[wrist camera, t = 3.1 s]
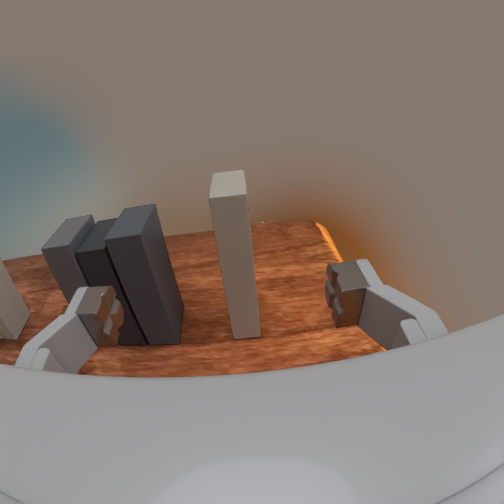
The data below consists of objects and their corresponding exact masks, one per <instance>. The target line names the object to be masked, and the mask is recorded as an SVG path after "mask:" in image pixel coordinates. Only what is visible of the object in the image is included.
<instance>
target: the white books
mask: <svg viewBox="0 0 504 504" xmlns="http://www.w3.org/2000/svg"><path fill="white" fill-rule="evenodd" d="M67 308H68V306H65V307H64V309H63V311H62V313H61V315H64V314H65V312H66V310H67ZM30 315H31V312H30V310H29V309H28V307H27V305H26V304H25V302H24V300H23V299H22V297H21V295H20V294H19V292H18V290H17V288H16V287H15V285H14V283H13V281H12V279H11V278H10V276H9V274H8V272H7V270H6V268H5V266H4V264H3V262H2V260H1V258H0V339H4V337H5V338H6V339H11V340H17V339H18V337H19V335H20V333H21V331H22V329H23V327H24V325H25V324H26V322H27V320H28V318H29V316H30Z"/></svg>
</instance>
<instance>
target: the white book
mask: <svg viewBox="0 0 504 504" xmlns="http://www.w3.org/2000/svg"><path fill="white" fill-rule="evenodd" d="M209 203H210V209H211V215H212V222H213V228H214V234H215V239H216V245H217V251H218V257H219V262H220V268H221V274H222V279H223V285H224V290H225V295H226V301H227V306H228V311H229V316H230V321H231V327H232V332H233V337H234V339H243V338H254V337H261V332H260V321H259V311H258V301H257V290H256V280H255V270H254V259H253V249H252V238H251V228H250V218H249V208H248V197H247V189H246V181H245V173H244V170H239V171H230V172H221V173H213V176H212V182H211V188H210V194H209Z"/></svg>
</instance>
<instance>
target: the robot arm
mask: <svg viewBox="0 0 504 504" xmlns="http://www.w3.org/2000/svg"><path fill="white" fill-rule="evenodd" d="M326 273H327V276H328V278H329V279H328V280H327V281H326V283H325V296H326V301H327V304H328V307H330V308H331V309H332V318H333V321H334V323H335V326H336V328H342V327H349V326H356V325H358V327H359V328H361V329H362V330H363V331H364V332H365V333H367V334H368V335H369V336H370V337H371V338H373V339H374V340H375V341H376V342H377V343H379V344H380V345H381V346H382V347H383V348H385V349H386V350H387V351H383V352H378V353H374V354H369V355H365V356H360V357H355V358H350V359H345V360H339V361H334V362H328V363H322V364H316V365H310V366H303V367H297V368H289V369H282V370H273V371H265V372H255V373H245V374H233V375H218V376H200V377H161V378H148V377H111V376H94V375H81V374H76V373H77V372H78V371H79V369H80V368H81V367H82V366H83V365H84V363H85V362H86V361H87V360H88V359H89V357H90V356H91V355H92V354H93V353H94V352H95V350H96V349H97V348H98V347H113V346H116V343H117V340H118V337H119V332H118V330H117V329H118V328H119V327H121V326H122V324H123V320H124V311H123V307H122V305H121V303H120V301H118V300H117V299H116V298H115V296H116V292H115V290H114V288H113V287H112V286H91V287H80V288H78V289H77V291H76V292H75V294H74V296H73V298H72V300H71V302H70V304H69V306H68V308H67V310H66V312H65V314H64V315H60V316H59V317H58V318H56V319H55V320H54V321H53V322H51V323H50V324H49V325H48V326H47V327H45V328H44V329H43V330H42V331H41V332H39V333H38V334H37V335H36V336H35V337H33V338H32V339H31V340H30V341H29V342H27V343H26V344H25V345H24V346H23V348H22V350H21V353H20V355H19V357H18V359H17V361H16V363H15V366H11V365H5V364H0V504H504V314H502V315H499V316H497V317H494V318H492V319H489V320H486V321H484V322H481V323H478V324H475V325H473V326H470V327H467V328H464V329H461V330H458V331H455V332H452V333H449V332H448V330H447V329H446V327H445V326H444V324H443V322H442V321H441V319H440V318H439V316H438V314H437V313H436V312H435V311H434V310H432V309H430V308H428V307H426V306H425V305H423V304H421V303H419V302H418V301H416V300H414V299H412V298H410V297H409V296H407V295H405V294H403V293H401V292H399V291H398V290H396V289H394V288H392V287H390V286H389V285H383V283H382V282H381V280H380V279H379V277H378V275H377V274H376V272H375V271H374V269H373V267H372V266H371V264H370V263H369V261H368V260H367V259H360V260H354V261H349V262H341V263H333V264H328V266H327V272H326Z"/></svg>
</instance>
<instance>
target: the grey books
mask: <svg viewBox="0 0 504 504" xmlns="http://www.w3.org/2000/svg"><path fill="white" fill-rule="evenodd" d="M41 250H42V252H43V255H44V257H45V259H46V261H47V263H48V265H49V267H50V269H51V271H52V273H53V275H54V277H55V279H56V281H57V283H58V285H59V287H60V289H61V291H62V293H63V295H64V296H65V298H66V300H67V302H68V304H70V302H71V300H72V298H73V296H74V294H75V292H76V291H77V289H78V288H80V287H91V286H112V287H113V288H114V290H115V292H116V296H115V298H116V299H117V300H118V301H120V303H121V305H122V307H123V311H124V320H123V324H122V326H121V327H119V328H118V329H117V330H118V332H119V337H118V340H117V343H116V345H119V343H121V345H147V342H149V344H150V345H163V344H179V338H180V331H181V324H182V317H183V310H184V305H183V302H182V298H181V295H180V292H179V289H178V285H177V282H176V279H175V275H174V272H173V268H172V265H171V261H170V258H169V254H168V251H167V247H166V243H165V240H164V236H163V232H162V228H161V224H160V220H159V216H158V212H157V208H156V204H150V205H144V206H137V207H131V208H125V209H124V210H123V211H122V213H121V214H120V216H119V217H118V218H114V219H108V220H102V221H98V222H97V223H96V224H95V222H94V219H93V216H92V215H86V216H81V217H76V218H71V219H66V220H65V221H64V222H63V223H62V225H61V226H60V227H59V228H58V229H57V230H56V231H55V233H54V234H53V235H52V236H51V237H50V239H49V240H48V241H47V242H46V244H45V245H44V246H43V247H42V248H41Z"/></svg>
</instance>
